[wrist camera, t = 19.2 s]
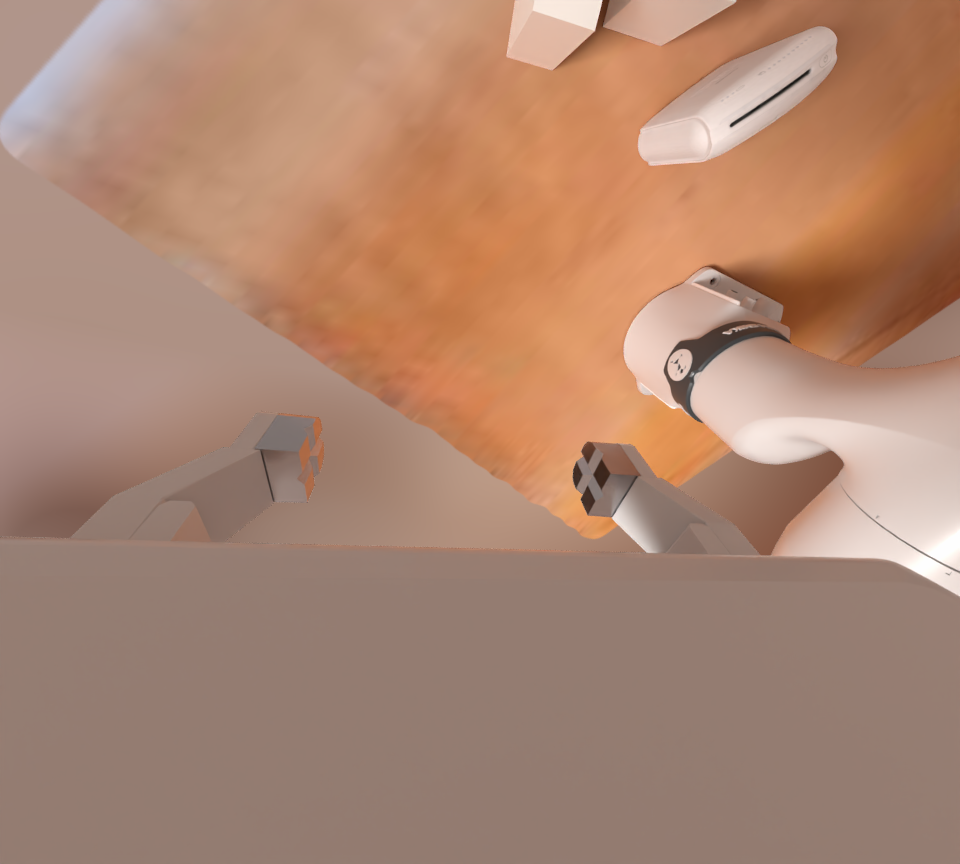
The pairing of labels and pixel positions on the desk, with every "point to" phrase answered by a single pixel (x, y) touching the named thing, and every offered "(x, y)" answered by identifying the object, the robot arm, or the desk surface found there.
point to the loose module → (550, 29)
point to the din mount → (660, 17)
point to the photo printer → (738, 99)
